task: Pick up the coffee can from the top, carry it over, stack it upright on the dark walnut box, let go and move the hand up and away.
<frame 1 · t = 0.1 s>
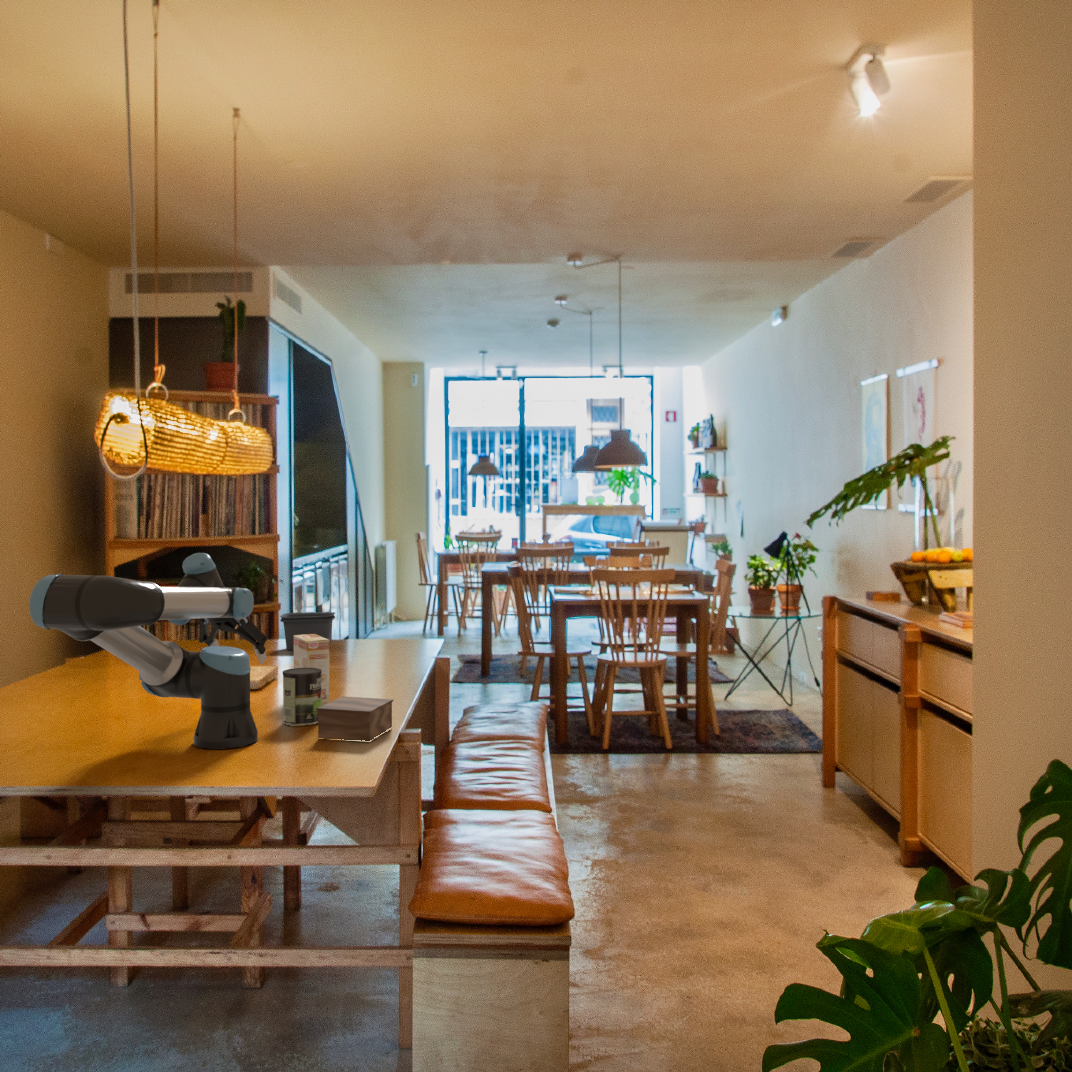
hand: (242, 659, 261), 15 cm above the table, tool tilted 35°, fingers open, 13 cm apart
coffeecake box: (311, 702, 278), on the table
walnut box: (355, 734, 238), on the table
coffee can: (302, 722, 252), on the table
storage bin: (308, 648, 379), on the table
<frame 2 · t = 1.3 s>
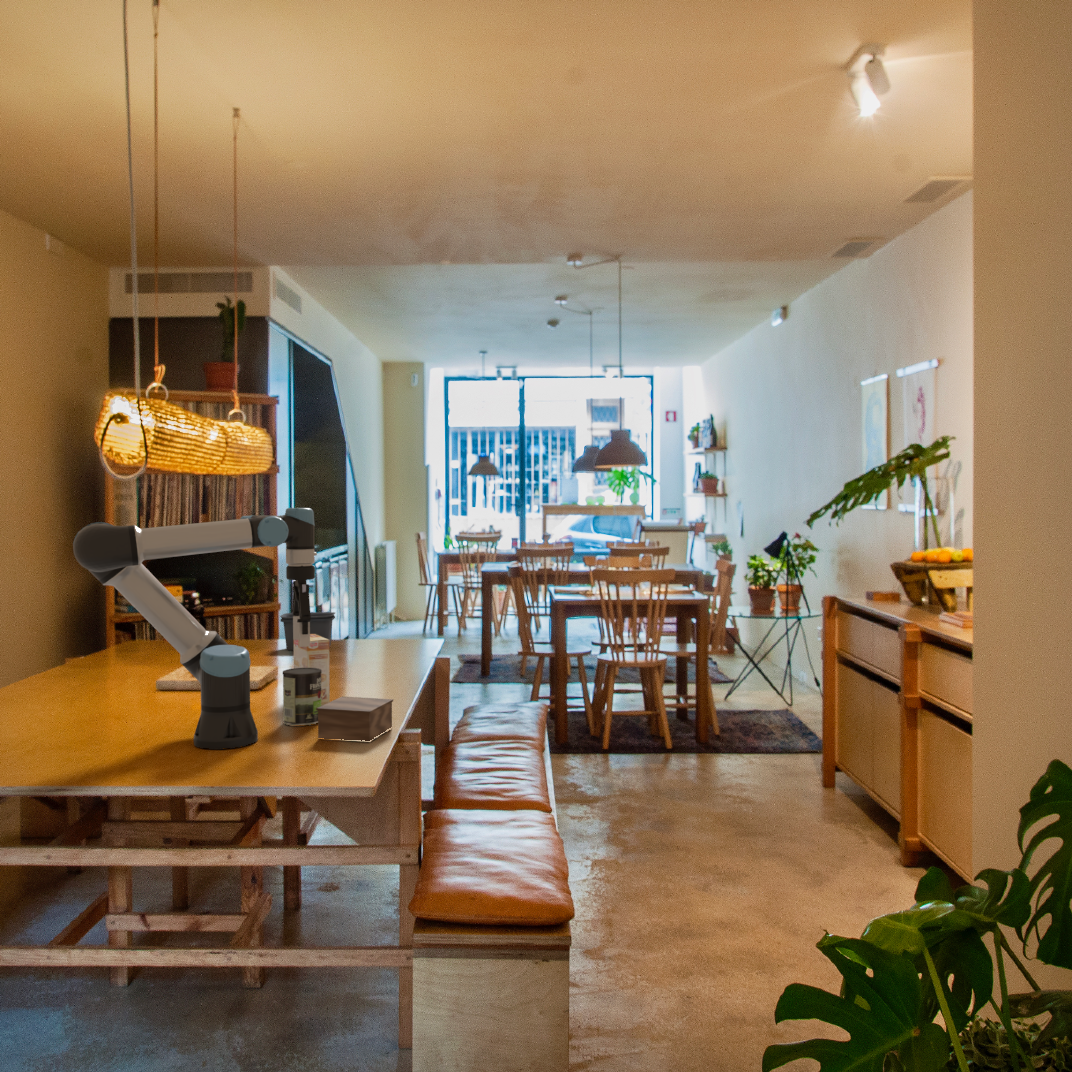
hand: (301, 643, 251), 22 cm above the table, tool pointing down, fingers open, 13 cm apart
nothing on the table moved.
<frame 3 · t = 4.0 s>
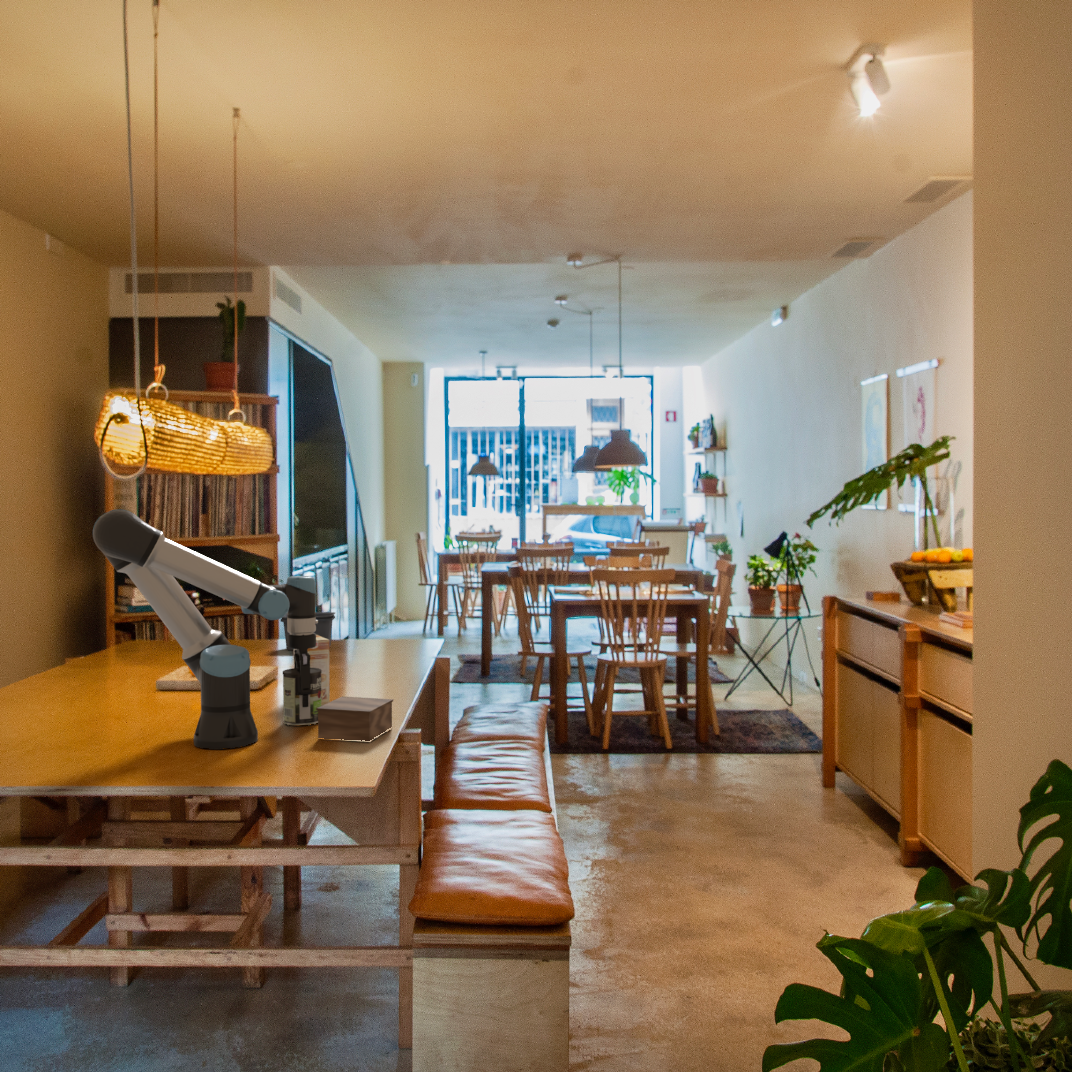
hand: (302, 714, 252), 2 cm above the table, tool pointing down, fingers closed on coffee can, 10 cm apart
coffee can: (302, 722, 252), on the table, touching gripper
everything else where it was.
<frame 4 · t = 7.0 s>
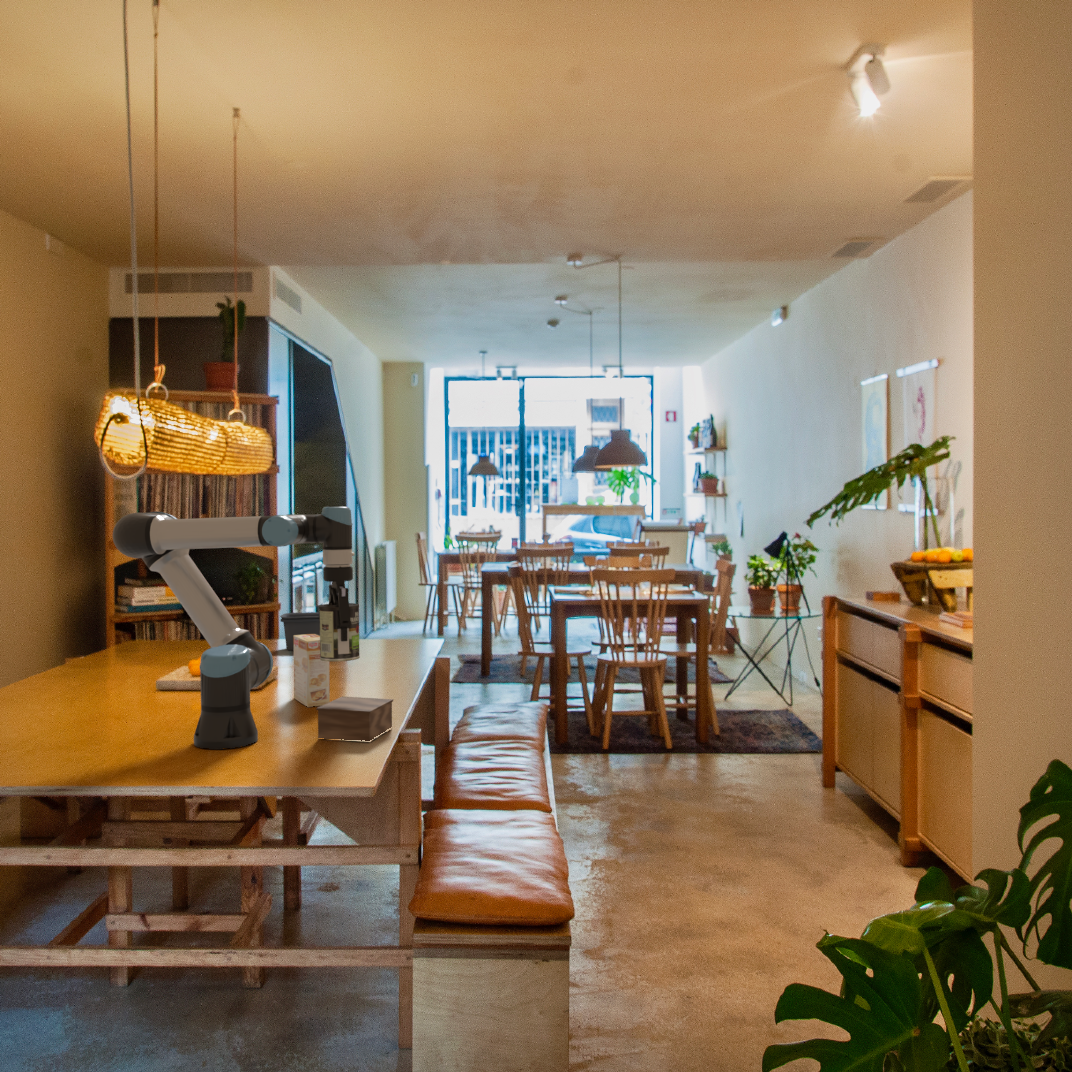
hand: (339, 650, 242), 21 cm above the table, tool pointing down, fingers closed on coffee can, 10 cm apart
coffee can: (339, 659, 242), point 19 cm above the table, touching gripper
everything else where it was.
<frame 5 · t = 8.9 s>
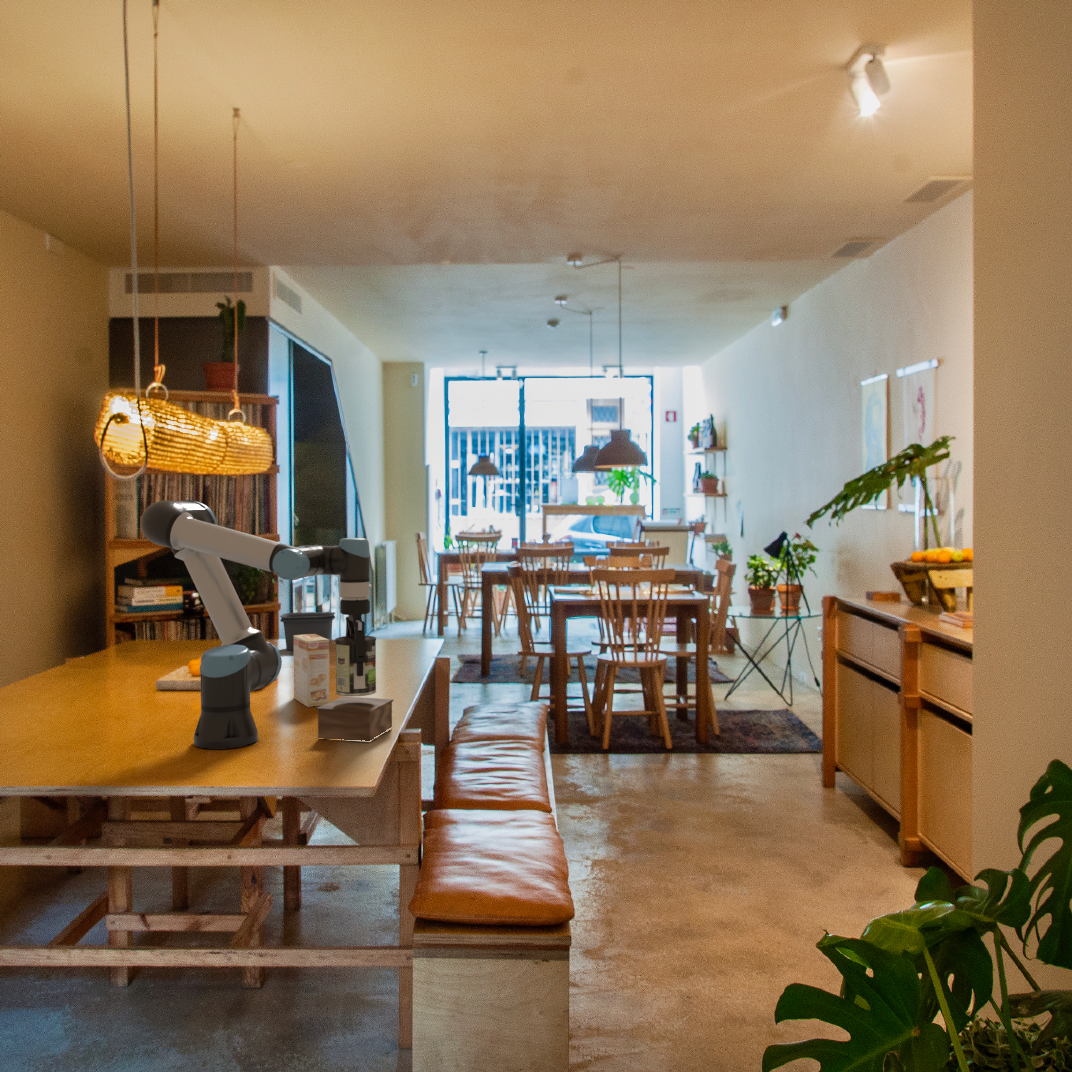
hand: (355, 684, 238), 13 cm above the table, tool pointing down, fingers closed on coffee can, 10 cm apart
coffee can: (356, 693, 238), point 11 cm above the table, touching gripper
everything else where it was.
when the fingers open (12 cm above the table, at t = 10.1 s): coffee can drops 2 cm, resting on walnut box.
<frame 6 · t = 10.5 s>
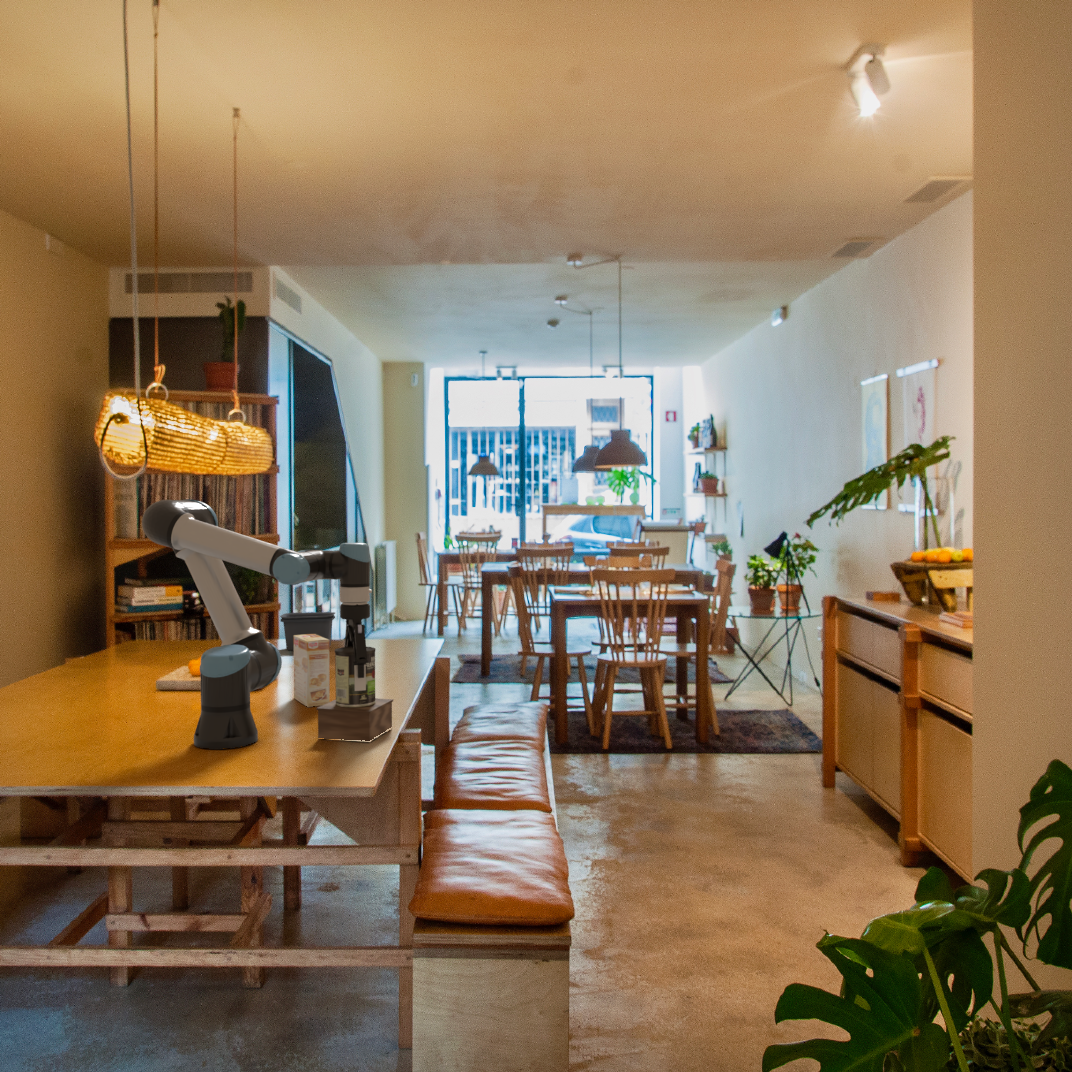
hand: (355, 685, 238), 13 cm above the table, tool pointing down, fingers open, 13 cm apart
coffee can: (355, 704, 238), point 8 cm above the table, touching walnut box
everything else where it was.
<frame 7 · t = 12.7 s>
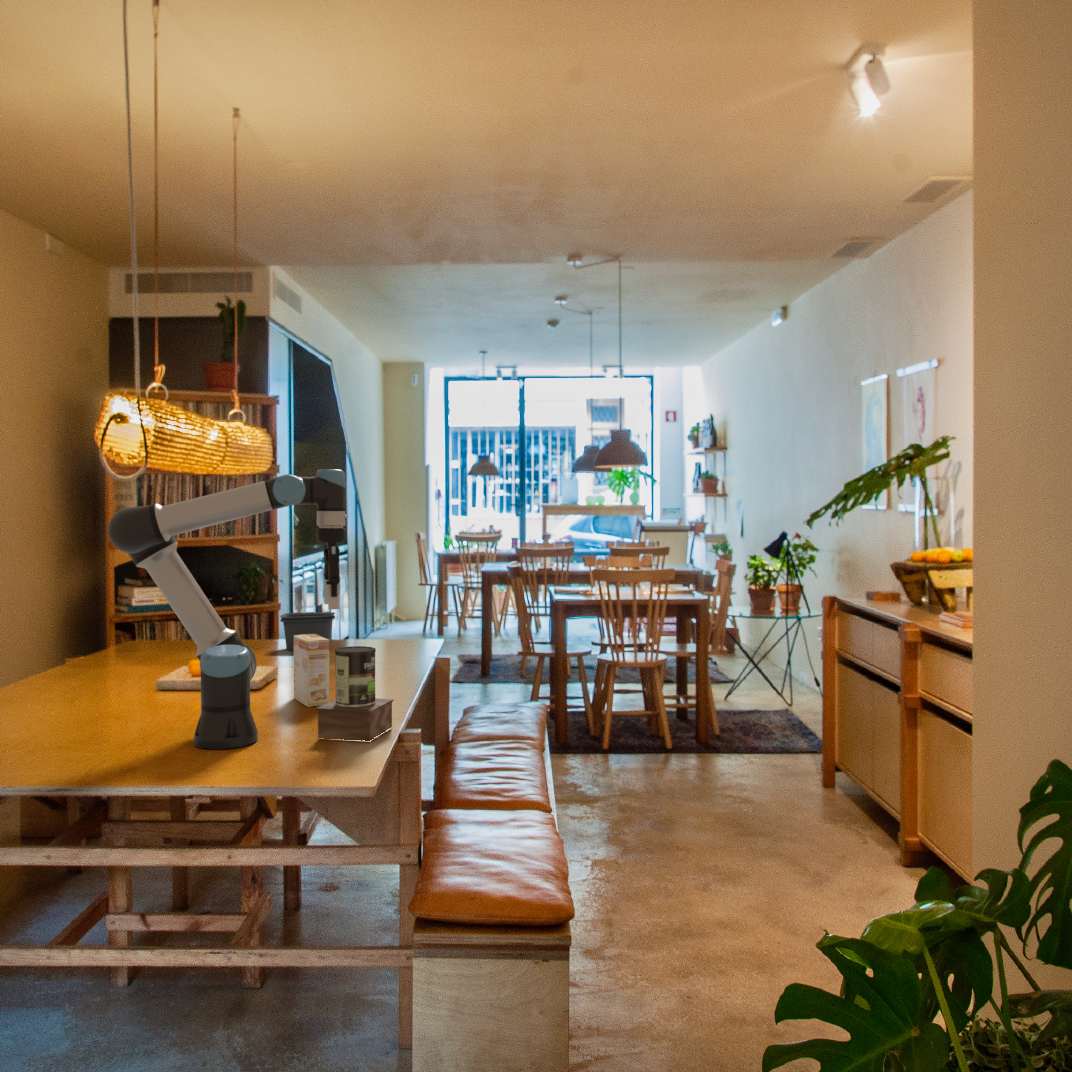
hand: (331, 606, 248), 32 cm above the table, tool pointing down, fingers open, 13 cm apart
nothing on the table moved.
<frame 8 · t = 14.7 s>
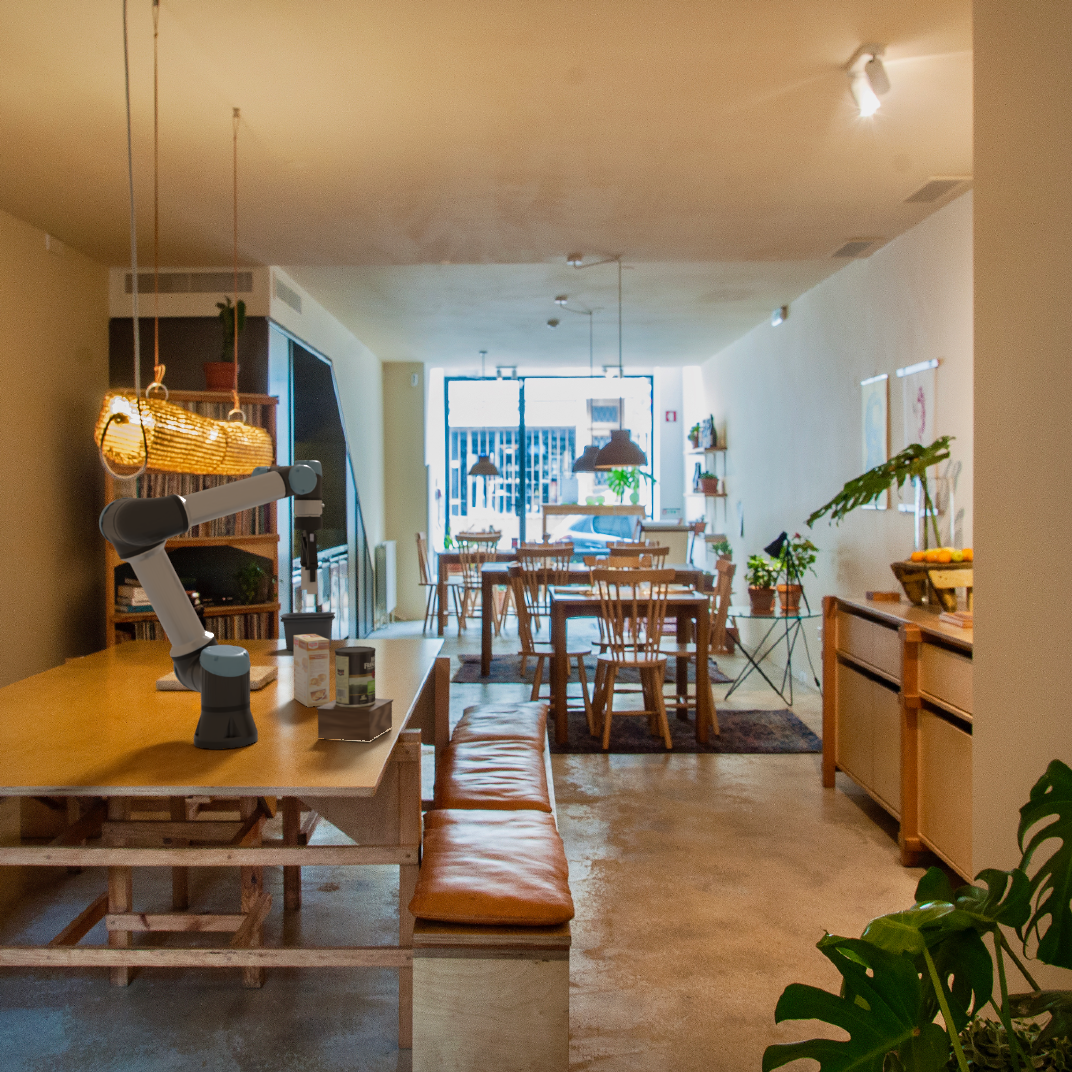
hand: (309, 591, 259), 35 cm above the table, tool pointing down, fingers open, 13 cm apart
nothing on the table moved.
at the end: coffee can inside the target area on the walnut box (0.2 cm from its centre), point 7.8 cm above the walnut box's base; coffee can tilted 0°; the gripper is holding nothing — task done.
